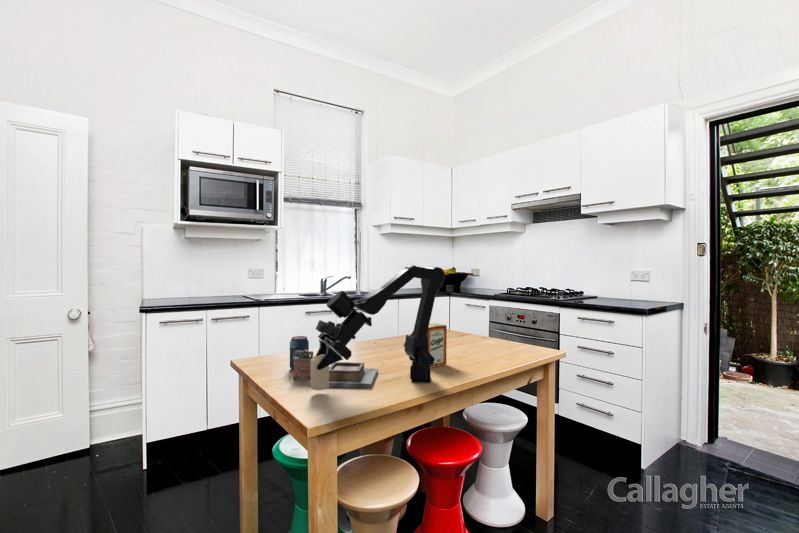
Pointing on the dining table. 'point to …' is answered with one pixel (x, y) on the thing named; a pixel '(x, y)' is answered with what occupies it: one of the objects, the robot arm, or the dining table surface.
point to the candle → (319, 374)
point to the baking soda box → (437, 343)
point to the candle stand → (351, 375)
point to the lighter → (302, 365)
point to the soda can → (297, 347)
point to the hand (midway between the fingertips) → (315, 366)
